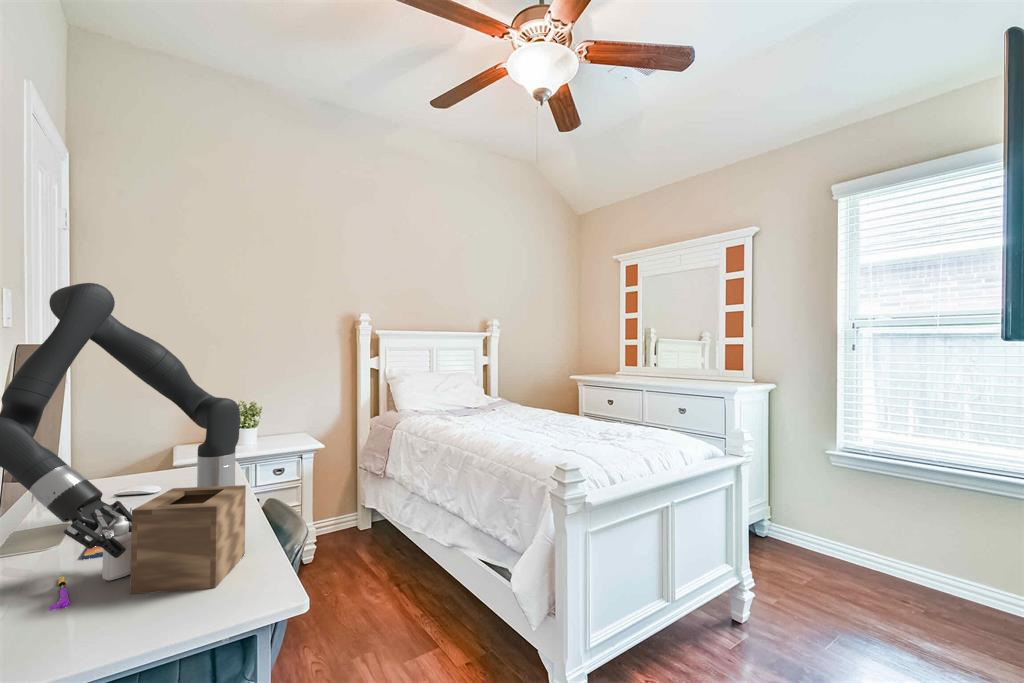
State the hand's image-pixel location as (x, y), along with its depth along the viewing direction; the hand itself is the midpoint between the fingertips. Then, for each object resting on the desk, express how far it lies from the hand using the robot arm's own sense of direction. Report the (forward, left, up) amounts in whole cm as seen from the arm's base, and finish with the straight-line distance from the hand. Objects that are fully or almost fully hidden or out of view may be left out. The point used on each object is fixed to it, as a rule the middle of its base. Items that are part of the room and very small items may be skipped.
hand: (130, 547), depth 99 cm
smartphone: (-18, -15, -6) cm, 24 cm away
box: (+1, +12, -6) cm, 14 cm away
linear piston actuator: (+6, -9, -6) cm, 13 cm away
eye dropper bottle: (0, -2, -6) cm, 6 cm away
